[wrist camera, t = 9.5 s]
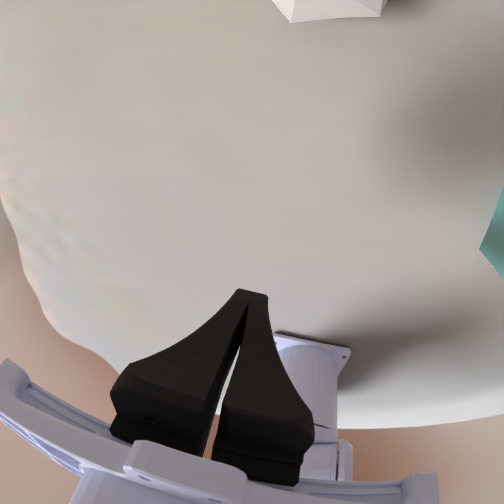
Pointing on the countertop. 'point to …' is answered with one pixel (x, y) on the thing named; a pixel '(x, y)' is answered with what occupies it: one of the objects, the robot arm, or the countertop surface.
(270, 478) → the robot arm
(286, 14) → the die
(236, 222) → the countertop surface
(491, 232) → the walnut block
